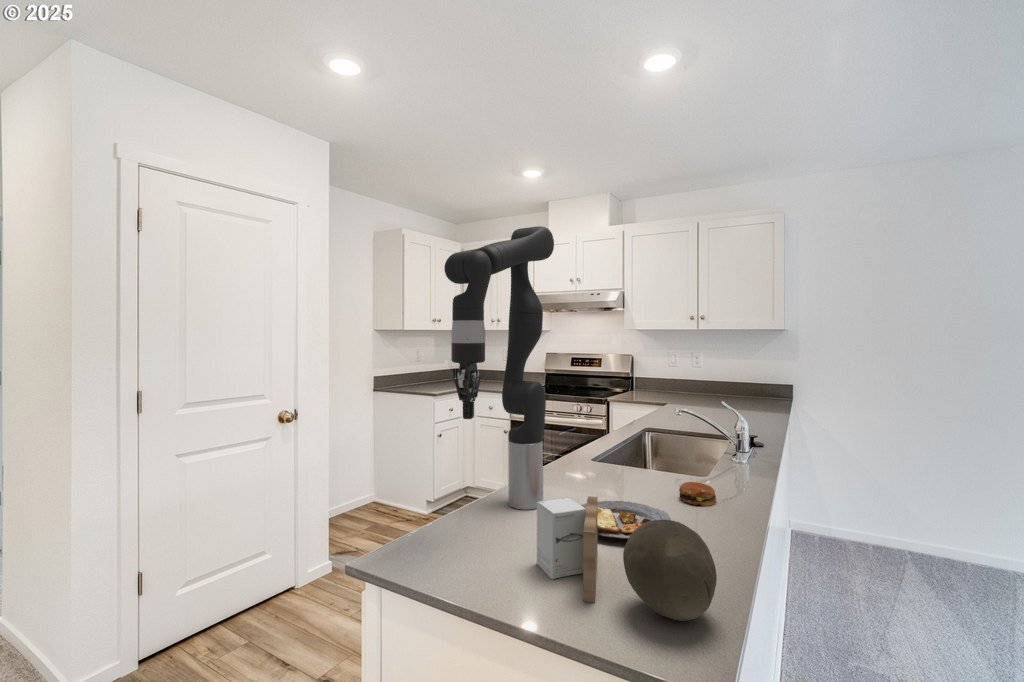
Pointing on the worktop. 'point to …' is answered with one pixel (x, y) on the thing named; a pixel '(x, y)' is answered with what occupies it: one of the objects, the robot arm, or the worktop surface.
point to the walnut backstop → (590, 549)
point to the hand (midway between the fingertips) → (468, 418)
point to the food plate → (624, 517)
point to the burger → (697, 494)
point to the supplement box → (560, 537)
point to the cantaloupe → (670, 569)
